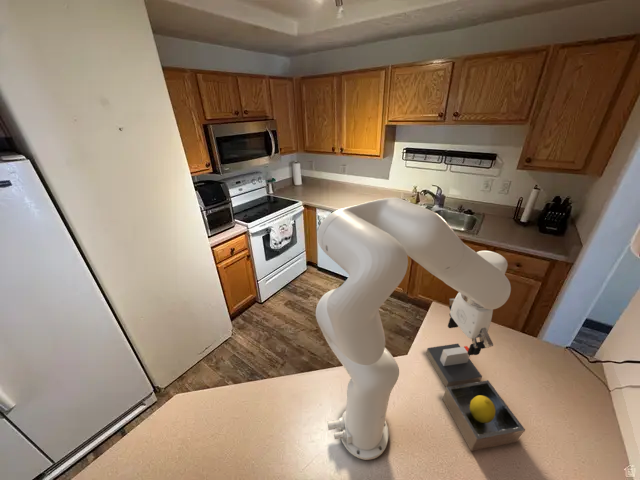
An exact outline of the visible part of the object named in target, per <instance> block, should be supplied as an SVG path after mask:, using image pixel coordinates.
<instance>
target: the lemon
mask: <svg viewBox="0 0 640 480" xmlns="http://www.w3.org/2000/svg"><path fill="white" fill-rule="evenodd" d="M470 411H471V414H472V416H473V417H474V418H475V419H476V420H478V421H479V422H482V423H489V422H491V421H492V420H493V419H494V416H495V406H494V404H493V402H492V401H491V400H490V399H489V398H487V397H485V396H482V395H478V396H476V397H474V398H473V399H472V400H471V402H470Z"/></svg>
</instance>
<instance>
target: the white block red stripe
mask: <svg viewBox="0 0 640 480" xmlns="http://www.w3.org/2000/svg"><path fill="white" fill-rule="evenodd" d="M468 350H469V347H468V345H464V346H460V347H458V348H451V349H444V350H443V352H442V355H441V358H440V361H441V363H442V364H443V366H448V365H455V364H461V363H467V362H468V360H469V359H470V357H471V355H468Z"/></svg>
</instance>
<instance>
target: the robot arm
mask: <svg viewBox="0 0 640 480" xmlns="http://www.w3.org/2000/svg"><path fill="white" fill-rule="evenodd" d="M316 235H317V242H318V245H319V247H320V249H321V250H322V251H323V252H324V254H325V255H327V257H328V258H330V259H331V260H332V261H334V262H335V264H337V265H338V266H339V267H340V268H341V269H342V270H344V271H345V272H346V274H348V277H347V279H345V281H344V282H343V283H342V284H341V285H340V286H339V287H337V288H333V289H331V290H329V291H327V292H325V293H324V294H323V295H322V296H321V297H320V299H319V301H318V302H317V304H316V308H315V320H316V322H317V324H318V327H319V328H320V331H321V333H322V335H323V337H324V339H325V341H326V343H327V345H328V347H329V348H330V350H331V351H332V352H333V354H334V356H335V357H336V358H337V360H338V361H339V362H340V364H341V365H342V366H343V369H344V370H345V371H346V373H347V374H348V375H349V377H350V379H349V381H348V383H347V386H346V406H345V410H344V412H343V413H342V415H341V417H338V419H336V420H335V419H333V420H332V419H331V420H328V421H327V422H326V423H327V431H333V430H336V429H337V430H338V429H339V431H336V432H333V438H334V440H341V442H342V444H343V446H344V448H345V449H346V450H347V451H348V452H349V454H351V455H353V457H355V458H358V459H361V460H366V461H369V460H374V459H376V458H379V457H380V456H381V455H382V454H383V453H384V452H385V450H386V449H387V446H388V442H389V427H388V424H387V421H386V416H387V413H388V412H387V411H388V406H389V401H390V396H391V393H392V391H393V389H394V388H395V386H396V384H397V382H398V380H399V376H400V367H399V365H398V364H399V363H398V362H397V360H396V359H395V358H394V356H393V355H392V353H391V351H389V350H388V349H387V347H386V336H385V331H384V325H383V322H382V319H381V313H380V308H381V307H382V306H383V305H384V303H385V302H386V301H387V300H388V299H389V297H390V296H391V295H392V294H393V292H394V291H396V289H397V288H398V287H399V285H400V284H401V283H402V282H403V280H404V278H405V275H406V274H407V270H408V268H409V267H408V266H409V258H410V259H412V260H413V261H414V262H415V263H417V264H418V265H420V266H421V267H422V268H424V270H426V271H427V272H428V273H430V274H431V275H432V276H434V277H436V278H437V279H439V280H440V281H442V282H443V283H444V284H445V285H447V286H448V287H450V288H452V290H455V291H457V292H458V293H457V294H456V296H455V298H449V299H448V300H449V306H448V308H449V314H448V315H449V320H448V324H447V327H448V329H453V328H454V329H455V328H459V329H460V331H462V333H463V334H464V335H465V336H466V337H467V338H468V339H470V340H471V342H472V343H471V344H470V345H469V347H468V348H469V350H468V355H470V356H478V355H480V353H481V350H483V349H489V348H492V347H494V343H493V341H492V338H491V337H490V335H489V331H490V328H491V327H490V326H491V323H492V318H493V313H494V310H496V309H499V308H501V307H502V306H503V305H505V304H506V303H507V301H508V300H509V299H510V295H511V291H512V286H511V282H510V280H509V279H508V277H507V276H506V275H505V274H506V272H507V269H508V267H509V265H508V260H507V259H506V257H504V256H503V255H501V254H500V253H497V252H495V251H491V250H479V251H475V249H472V247H469V246H468V245H467V244H466V243H464V241H463V240H462V239H461V238H460V237H459V236H458V235H457V233H456V232H455V231H454V229H453V228H452V227H451V226H450V224H449V223H448V222H447V221H446V220H445V219H444V218H443V216H441V215H439V214H438V213H437V212H435V211H433V210H431V209H428V208H426V207H423V206H421V205H418V204H415V203H413V202H410V201H408V200H405V199H402V198H400V197H384V198H377V199H374V200H369V201H365V202H361V203H358V204H354V205H350V206H347V207H343V208H339V209H337V210H334V211H333V212H331V213H329V214H328V215H327V216H325V218H324V219H323V220H322V221H321V222H320V224H319V226H318V229H317V234H316ZM408 257H409V258H408ZM477 338H479V341H477Z"/></svg>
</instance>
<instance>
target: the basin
mask: <svg viewBox="0 0 640 480" xmlns="http://www.w3.org/2000/svg"><path fill="white" fill-rule="evenodd" d="M478 395H482V396H485V397H487V398H489V399H490V400H491V401H492V402H493V404H494V406H495V416H494V419H493V420H492V421H491V422H489V423H482V422H479V421H478V420H476V419H475V418H474V417H473V416H472V414H471V411H470V402H471V400H472V399H473V398H474V397H476V396H478ZM442 401H443V403H444V405H445V406H446V409H447V410H448V412H449V414H450V416H451V417H452V419H453V421H454V423H455V425H456V426H457V429H458V431H459V432H460V434H461V435H462V438H463V440H464V441H465V443H466V445H467V447H468V448H469V450H470V452H472V451H477V450H483V449H488V448H493V447H497V446H502V445H503V446H504V445H507V444H513V443H517V442H518V441H519V440H520V438H521V437H522V435H523V434H524V432H525V431H526V428H525V427H524V426H523V425H522V423H521V422H520V421H519V419H518V418H517V417H516V415H515V414H514V413H513V411H512V410H511V409H510V407H509V406H508V405H507V403H506V402H505V401H504V399H503V398H502V397H501V395H500V393H499V392H498V391H497V390H496V389H495V388H494V386H493V384H492V383H491V382H490V381H489V380H488V379H487V380H481V381H480V382H475V383H469V384H463V385H457V386H451V387H447V388H446V387H445V391H444V394H443V397H442Z"/></svg>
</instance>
